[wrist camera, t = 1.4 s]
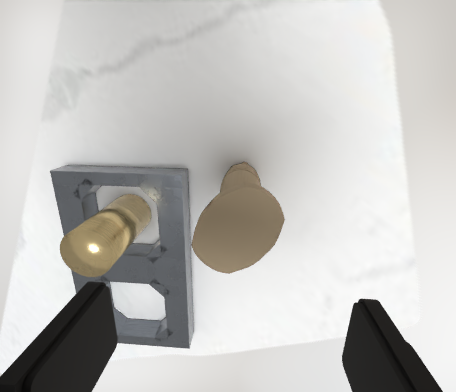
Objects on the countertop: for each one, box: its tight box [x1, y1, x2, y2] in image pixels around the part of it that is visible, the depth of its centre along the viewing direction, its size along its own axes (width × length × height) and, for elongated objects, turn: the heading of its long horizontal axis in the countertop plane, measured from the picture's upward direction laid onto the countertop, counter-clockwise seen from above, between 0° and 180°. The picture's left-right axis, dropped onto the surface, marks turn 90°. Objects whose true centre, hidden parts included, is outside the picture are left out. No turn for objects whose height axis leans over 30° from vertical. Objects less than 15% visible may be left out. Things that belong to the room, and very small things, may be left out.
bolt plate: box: [50, 165, 194, 349], centre depth 34 cm, size 25×15×3 cm, turn 179°
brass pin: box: [60, 194, 151, 277], centre depth 29 cm, size 5×5×10 cm
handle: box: [192, 162, 285, 273], centre depth 24 cm, size 5×6×15 cm
